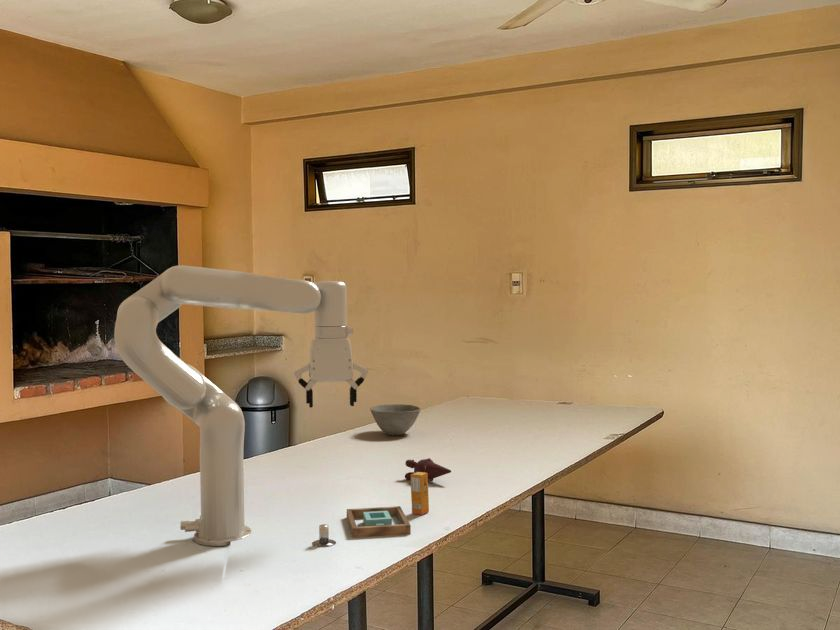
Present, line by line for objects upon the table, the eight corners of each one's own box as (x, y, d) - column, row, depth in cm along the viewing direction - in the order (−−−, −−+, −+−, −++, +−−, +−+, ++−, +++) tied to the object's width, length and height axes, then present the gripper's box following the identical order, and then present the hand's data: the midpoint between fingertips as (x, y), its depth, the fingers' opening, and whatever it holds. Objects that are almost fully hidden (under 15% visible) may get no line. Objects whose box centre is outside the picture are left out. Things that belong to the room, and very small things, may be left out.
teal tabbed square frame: (362, 521, 190) (362, 510, 190) (386, 520, 191) (386, 508, 191) (367, 534, 180) (367, 522, 180) (392, 532, 181) (392, 520, 181)
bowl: (420, 439, 288) (420, 411, 288) (368, 439, 288) (368, 411, 288) (421, 429, 307) (421, 403, 306) (372, 429, 307) (372, 403, 307)
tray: (352, 541, 177) (352, 528, 177) (346, 521, 192) (346, 509, 192) (410, 538, 180) (410, 525, 179) (400, 518, 194) (400, 506, 194)
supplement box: (417, 510, 201) (417, 470, 201) (429, 512, 199) (429, 472, 199) (410, 513, 198) (410, 473, 198) (421, 515, 196) (421, 475, 196)
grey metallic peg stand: (312, 552, 171) (312, 530, 170) (311, 544, 176) (311, 522, 175) (336, 550, 171) (336, 528, 171) (335, 542, 177) (334, 521, 176)
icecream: (457, 459, 229) (412, 458, 236) (445, 457, 223) (399, 456, 230) (456, 484, 228) (410, 482, 235) (444, 483, 221) (398, 481, 229)
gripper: (365, 331, 193) (366, 402, 194) (293, 333, 190) (294, 404, 191) (369, 334, 185) (369, 407, 186) (294, 335, 182) (294, 409, 183)
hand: (331, 405), depth 188 cm, fingers open, 9 cm apart
